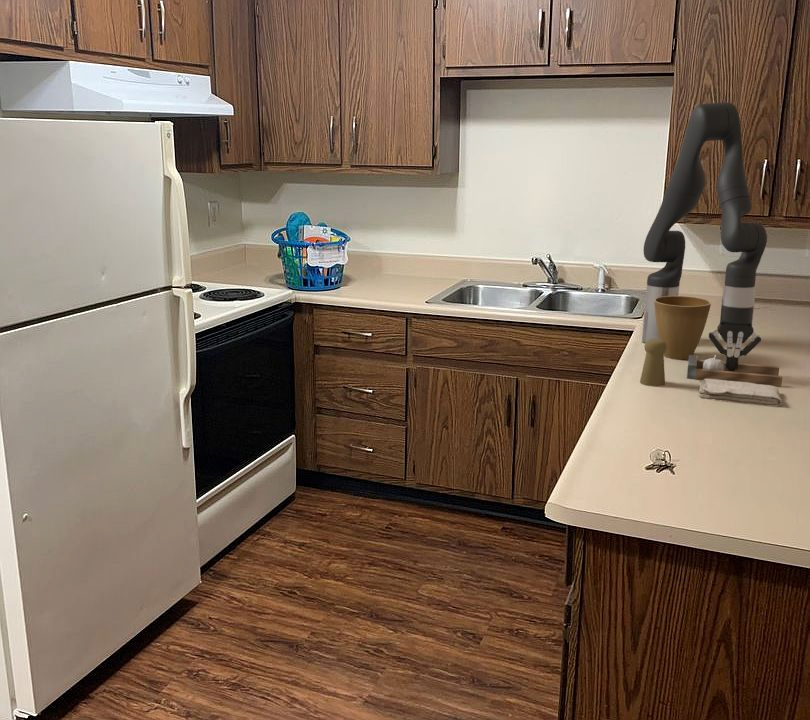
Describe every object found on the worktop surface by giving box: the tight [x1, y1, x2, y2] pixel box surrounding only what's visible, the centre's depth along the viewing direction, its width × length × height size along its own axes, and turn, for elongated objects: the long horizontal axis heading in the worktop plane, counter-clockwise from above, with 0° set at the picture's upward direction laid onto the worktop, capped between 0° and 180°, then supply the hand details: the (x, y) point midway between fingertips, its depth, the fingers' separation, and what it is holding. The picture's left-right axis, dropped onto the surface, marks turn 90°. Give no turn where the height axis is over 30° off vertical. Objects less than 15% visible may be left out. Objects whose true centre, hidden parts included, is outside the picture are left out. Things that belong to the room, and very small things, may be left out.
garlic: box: [703, 354, 725, 371], centre depth 210 cm, size 6×5×5 cm
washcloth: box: [698, 379, 783, 407], centre depth 193 cm, size 12×18×3 cm, turn 70°
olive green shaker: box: [639, 339, 667, 387], centre depth 202 cm, size 6×6×11 cm
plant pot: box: [654, 295, 712, 361], centre depth 227 cm, size 15×15×16 cm
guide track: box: [686, 354, 783, 388], centre depth 209 cm, size 22×11×4 cm, turn 70°
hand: (731, 370), depth 209 cm, fingers closed
